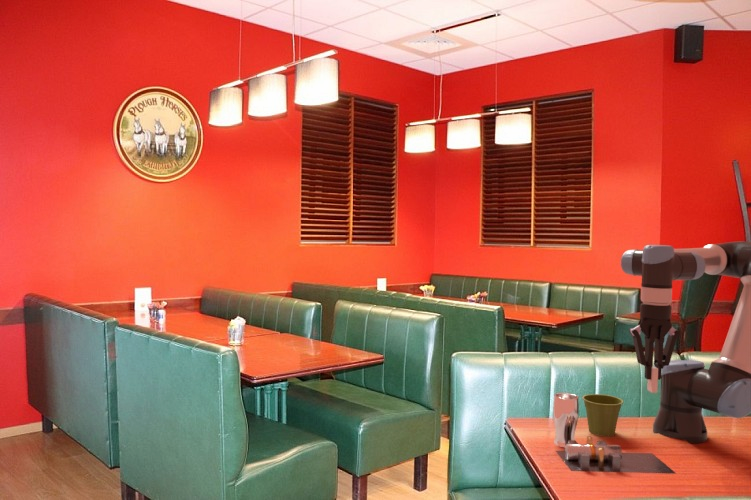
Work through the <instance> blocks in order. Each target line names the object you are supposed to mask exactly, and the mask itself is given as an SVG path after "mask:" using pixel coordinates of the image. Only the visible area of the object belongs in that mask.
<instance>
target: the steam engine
mask: <svg viewBox="0 0 751 500" xmlns="http://www.w3.org/2000/svg"><path fill="white" fill-rule="evenodd" d="M568 444H579V443H578V441H576V440H568ZM586 444H593V436H589V435H588V436H586ZM596 445H609V444H608V443H607V442H606V441H604V440H597V441H596ZM555 453H557V455H558V456H559V458H560V459H561V460H562V461H563V463H564V464H565V465H566V466H567V467H568V469H569V470H570V471H571V472H592V473H593V472H596V473H597V472H600V473H603V472H604V473H633V474H634V473H635V474H637V473H638V474H642V473H643V474H672V475H675V474H676V475H677V473H676V472H675V471H674V470H673V469H672V468H670V466H669V465H667V464H666V463H664V461H662V460H661V459H659V458H658V456H656V455H655V454H654V453H652V452H651V453H650V452H622V459H621V457H620V456H619V455H618V454H617V453H609V460H608V461H604V449H603V448H599V451H598V460H590V456H589V455H588V454H587V453H586V452H578V460H567V459H566V456H565V450H555Z"/></svg>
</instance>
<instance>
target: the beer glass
mask: <svg viewBox="0 0 751 500" xmlns="http://www.w3.org/2000/svg"><path fill="white" fill-rule="evenodd" d="M553 399H554V400H553V410H552V411H553V413H552V414H553V422H554V431H555V434H554V435H555V437H554V441H553V444H554V445H555V446H557V447H561V448H565V445H566V444H568V440H575V437H576V436H575V435H576V428H577V425H578V422H579V420H578V419H579V411H580V409H579V408H580V405H579V404H580V403H579V402H580V401H579V396H578V395H576V394H573V393H569V392H568V393H567V392H557V393H555V394H554V398H553ZM575 441H576V440H575Z"/></svg>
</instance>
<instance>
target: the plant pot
mask: <svg viewBox="0 0 751 500" xmlns="http://www.w3.org/2000/svg"><path fill="white" fill-rule="evenodd" d="M581 399H582V400H583V402H584V407H585V411H586V418H587V420H586V421H587V425H588V432H589V433H590V434H593V435H595V436H600V437H612V436H615V434H616V429H617V424H618V419H619V413H620V412H621V411H620V410H621V408H622V404H624V400H623V399H622V398H620V397H617V396H613V395H608V394H594V393H593V394H591V393H590V394H585V395H583V396H582V397H581Z"/></svg>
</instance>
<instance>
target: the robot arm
mask: <svg viewBox="0 0 751 500" xmlns="http://www.w3.org/2000/svg"><path fill="white" fill-rule="evenodd" d="M620 266H621V270H622V272H624V273H625V274H627V275H629V276H630V275H631V276H634V277H635V276H636V277H637V276H638V277H641V284H640V285H641V286H640V301H641V303H640V305H639V306H640V307H639V321H638V323H637V325H636V326H635V327H631V328H629V329H628V332H629V333H630V335H631V337H632V339H633V340H632V341H633V344H634V345H633V346H634V350H635V354H636V360H637V363H638V364H640V365H641V366H644V378H645V379H646V380H647V382H646V383H647V384H646V390H647V391H648V392H650V393H652V394H657V393H658V387H659V386H658V384H659V382H658V381H659V380H660V396H659V397H660V398H659V399H660V400H659V401H660V403H659V405H660V406H659V409H658V411H657V414H656V416H655V419H654V421H653V422H652V432H653V433H654V434H660V435H662V436H663V437H667V438H671V439H676V440H681V441H686V442H687V443H689V444H700V443H705V442H706V441H708V430H707V426H706V423H705V419H704V417H703V416H704V415H703V410H706V411H710V412H713V413H716V414H720V415H721V416H724V417H731V418H734V419H742V418H745V417H746V416H749V415H750V414H751V241H746V240H739V241H737V240H736V241H730V242H723V243H722V242H721V243H711V244H707V245H704V246H703V247H693V248H692V247H691V248H674V246H672V245H665V244H663V245H662V244H647V245H644V247H643V249H637V248H636V249H627V250H626V251H624V252H623V254H622V256H621V258H620ZM704 273H705V274H707V275H711V276H714V275H715V276H725V277H731V278H736V279H740V282H741V283H742V285H743V288H742V290H741V291H742V292H741V293H740V297H739V300H738V303H737V305H736V308H735V312H734V314H733V317H732V320H731V322H730V326H729V329H728V332H727V335H726V338H725V341H724V344H723V346H722V348H721V351H720V354H719V358H717V359H715V360H713V361H710V362H711V363H710V365H709V367H708V368H705V367H706V366H705V363H704V362H703V361H698V360H688V359H686V360H685V359H681V360H680V359H678V360H677V359H676V360H675V359H673V360H671V359H672V356H673V352H674V349H675V346H676V342H677V339H678V338H679V336H680V335H681V331H680V330H678V329H676V328H675V327H674V326H673V323H672V322H671V321H672V320H671V318H672V305H671V304H672V302H673V301H672V300H673V281H693V280H698V279H700V278H701V277H702V276H703V275H704ZM641 334H643V335H644V345H643V341H642V337H641ZM667 334H668V335H667ZM666 336H667V337H666ZM665 337H666V341H665ZM664 343H665V344H664ZM643 346H644V347H643Z"/></svg>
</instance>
